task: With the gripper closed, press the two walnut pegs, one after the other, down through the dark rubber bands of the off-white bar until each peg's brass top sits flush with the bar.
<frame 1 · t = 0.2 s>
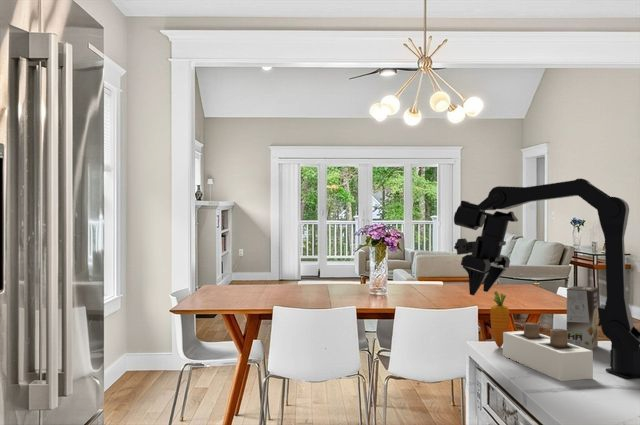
hand: (478, 293, 144), 15 cm above the kitchen island, tool pointing down, fingers open, 9 cm apart
carrot: (499, 348, 149), on the kitchen island
peg far: (531, 335, 135), point 6 cm above the kitchen island, slide at 3.0 cm
coffee box: (582, 348, 149), on the kitchen island
band bar: (544, 366, 130), on the kitchen island
peg near: (558, 343, 126), point 7 cm above the kitchen island, slide at 3.5 cm
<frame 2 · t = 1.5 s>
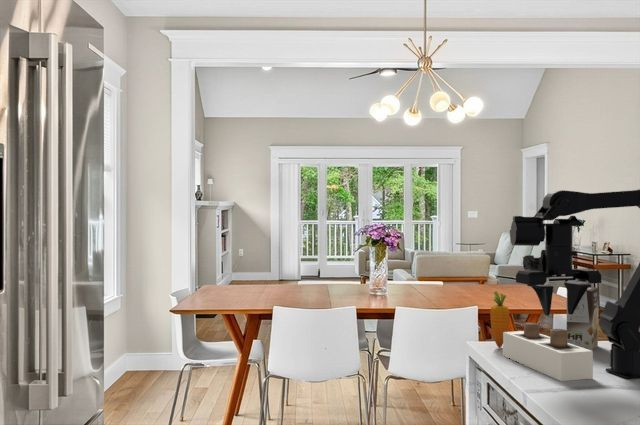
hand: (558, 314, 126), 13 cm above the kitchen island, tool pointing down, fingers open, 6 cm apart
nothing on the kitchen island moved.
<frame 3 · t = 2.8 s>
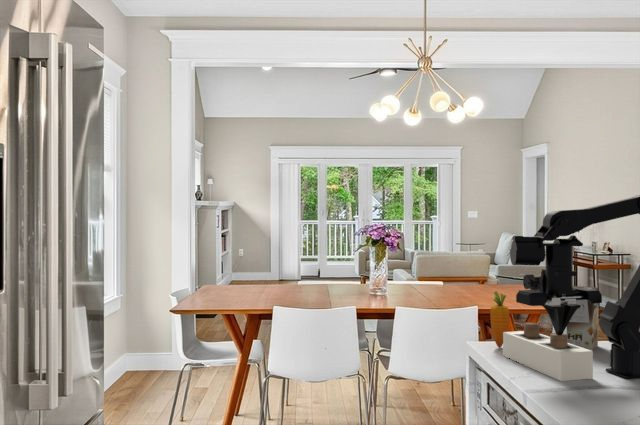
hand: (559, 334, 126), 8 cm above the kitchen island, tool pointing down, fingers closed, pressing on peg near
peg near: (558, 347, 126), point 6 cm above the kitchen island, slide at 2.5 cm, touching gripper
everything else where it was.
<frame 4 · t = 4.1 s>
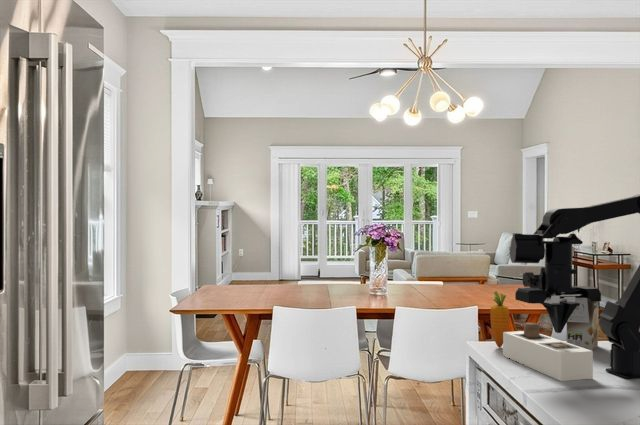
hand: (558, 332, 126), 9 cm above the kitchen island, tool pointing down, fingers closed
peg near: (558, 358, 126), point 3 cm above the kitchen island, slide at 0.1 cm
everything else where it was.
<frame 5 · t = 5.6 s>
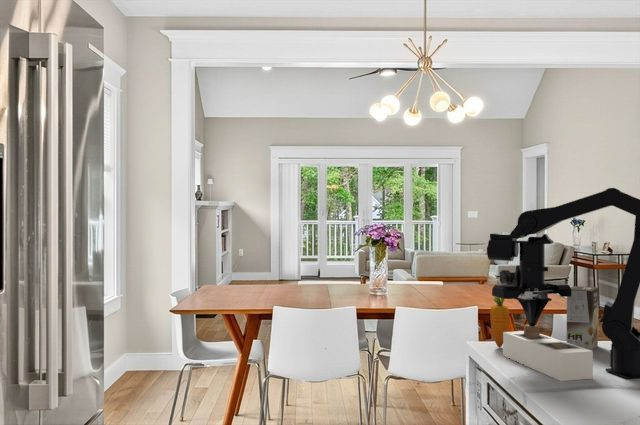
hand: (531, 326, 135), 9 cm above the kitchen island, tool pointing down, fingers closed, pressing on peg far
peg far: (531, 337, 135), point 6 cm above the kitchen island, slide at 2.5 cm, touching gripper
everything else where it was.
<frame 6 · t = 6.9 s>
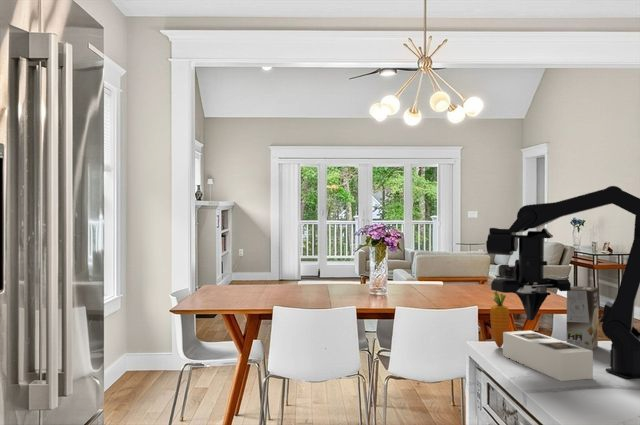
hand: (530, 320, 135), 10 cm above the kitchen island, tool pointing down, fingers closed
peg far: (531, 347, 135), point 3 cm above the kitchen island, slide at 0.1 cm
everything else where it was.
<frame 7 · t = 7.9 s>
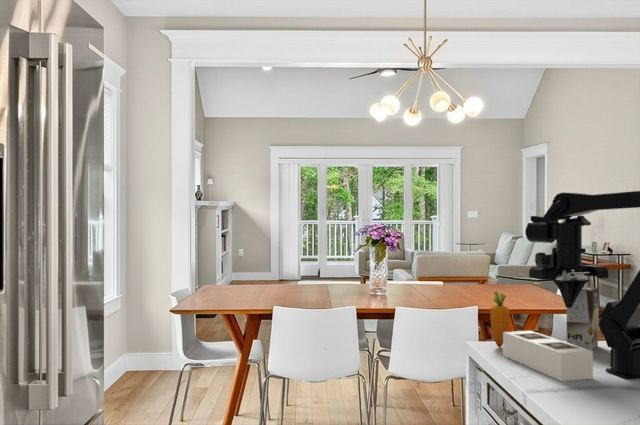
hand: (568, 307, 136), 13 cm above the kitchen island, tool pointing down, fingers closed
nothing on the kitchen island moved.
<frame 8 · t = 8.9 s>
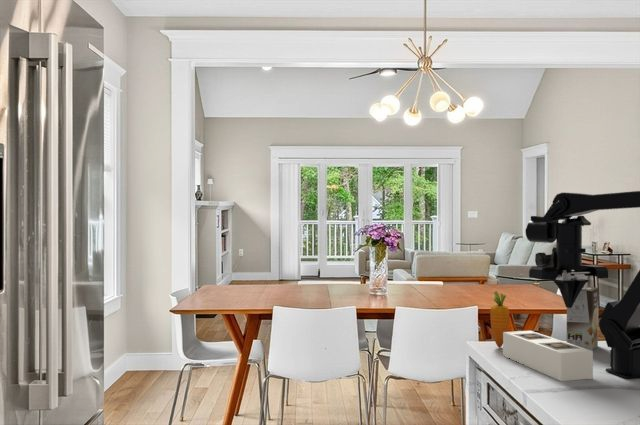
hand: (568, 307, 136), 13 cm above the kitchen island, tool pointing down, fingers closed
nothing on the kitchen island moved.
at the end: peg near slide at 0.1 cm; peg far slide at 0.1 cm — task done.
